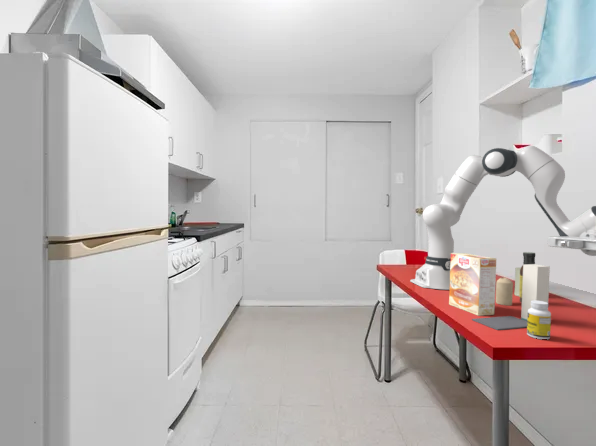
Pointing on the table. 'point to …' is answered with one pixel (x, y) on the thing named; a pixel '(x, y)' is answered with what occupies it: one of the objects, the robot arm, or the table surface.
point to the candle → (504, 291)
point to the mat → (502, 322)
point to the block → (534, 286)
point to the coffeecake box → (472, 283)
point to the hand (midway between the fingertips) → (564, 244)
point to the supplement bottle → (539, 320)
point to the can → (517, 281)
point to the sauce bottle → (528, 259)
